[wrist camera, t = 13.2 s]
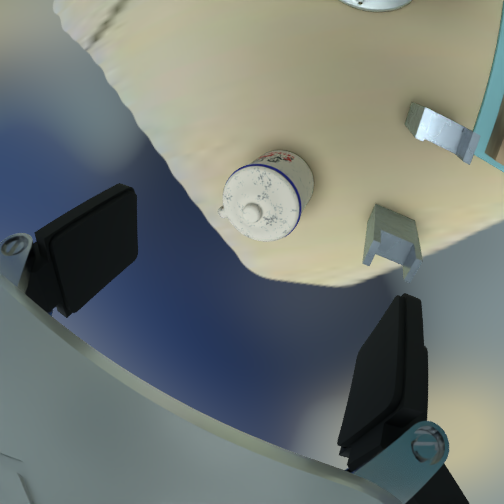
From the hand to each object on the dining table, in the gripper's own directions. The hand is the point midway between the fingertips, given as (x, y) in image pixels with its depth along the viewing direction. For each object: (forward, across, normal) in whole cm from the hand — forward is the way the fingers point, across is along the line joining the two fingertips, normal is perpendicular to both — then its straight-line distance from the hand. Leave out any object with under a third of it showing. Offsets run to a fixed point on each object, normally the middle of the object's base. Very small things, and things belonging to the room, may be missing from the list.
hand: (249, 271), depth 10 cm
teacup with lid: (+31, +7, +10) cm, 33 cm away
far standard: (+30, -10, +9) cm, 33 cm away
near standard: (+30, -10, -5) cm, 32 cm away
